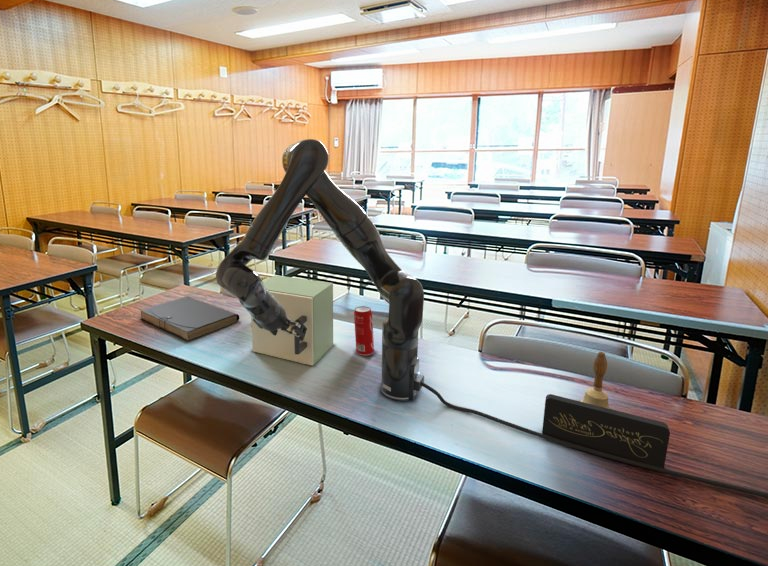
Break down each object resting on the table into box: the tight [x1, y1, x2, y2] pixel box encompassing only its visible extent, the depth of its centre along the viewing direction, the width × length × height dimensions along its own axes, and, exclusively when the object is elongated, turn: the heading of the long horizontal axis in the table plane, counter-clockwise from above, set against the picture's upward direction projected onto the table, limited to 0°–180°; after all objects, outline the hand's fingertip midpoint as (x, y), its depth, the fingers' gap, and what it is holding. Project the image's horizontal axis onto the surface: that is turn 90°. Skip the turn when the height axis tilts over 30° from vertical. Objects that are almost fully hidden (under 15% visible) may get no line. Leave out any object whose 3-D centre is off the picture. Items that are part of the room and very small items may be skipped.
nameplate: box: [541, 393, 671, 473], centre depth 91 cm, size 21×2×10 cm, turn 56°
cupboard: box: [262, 274, 334, 365], centre depth 141 cm, size 15×22×22 cm
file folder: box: [139, 296, 240, 342], centre depth 169 cm, size 33×4×24 cm
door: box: [250, 291, 315, 366], centre depth 132 cm, size 7×22×22 cm, turn 61°
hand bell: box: [579, 351, 611, 409], centre depth 103 cm, size 8×8×16 cm
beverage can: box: [353, 305, 375, 357], centre depth 138 cm, size 6×6×15 cm
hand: (289, 335), depth 121 cm, fingers open, 8 cm apart
